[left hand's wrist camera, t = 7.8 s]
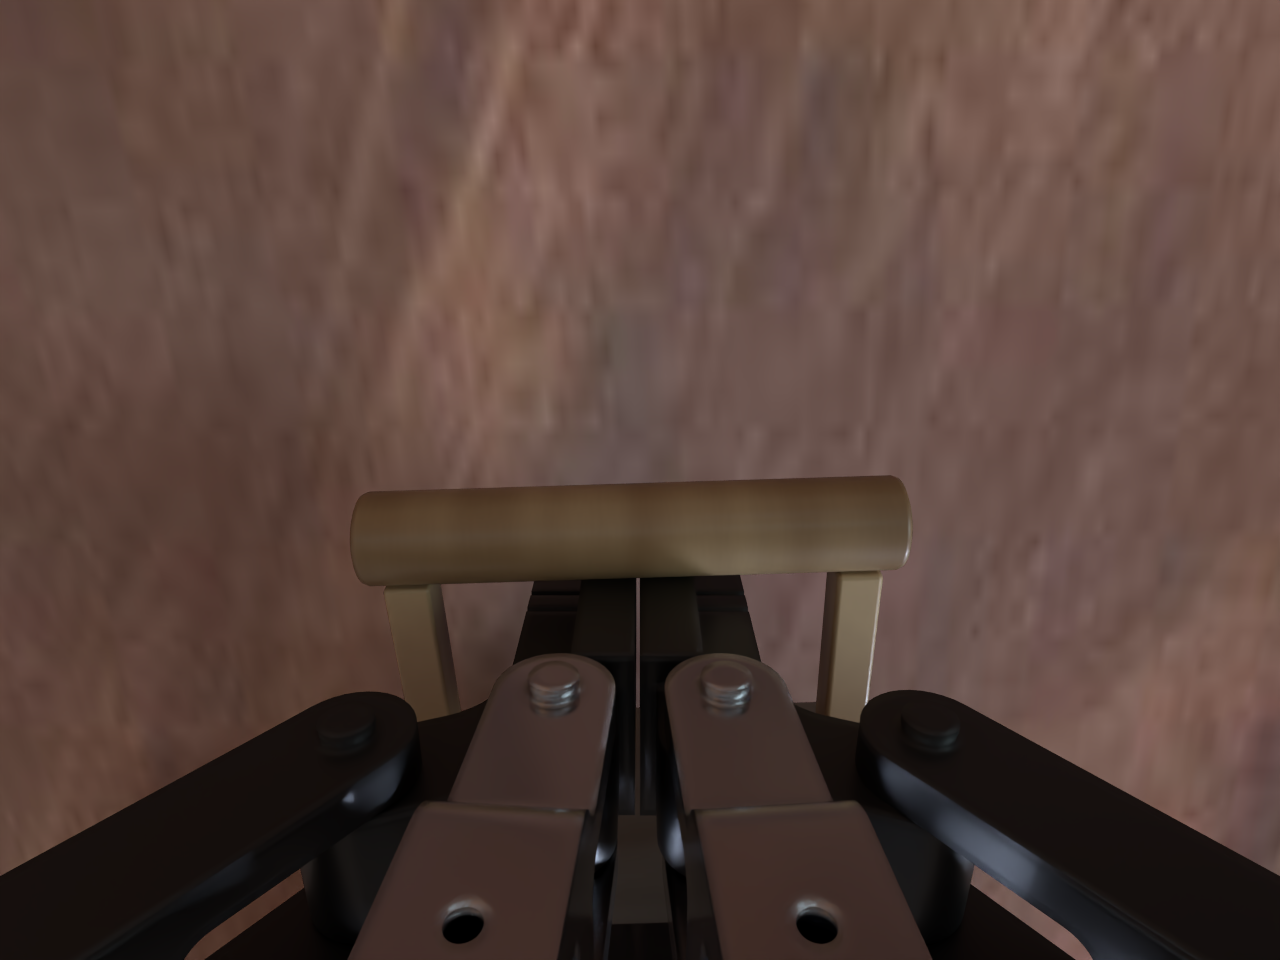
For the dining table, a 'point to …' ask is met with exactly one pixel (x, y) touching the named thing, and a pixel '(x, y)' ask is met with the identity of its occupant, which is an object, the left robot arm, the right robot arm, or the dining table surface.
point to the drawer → (634, 548)
